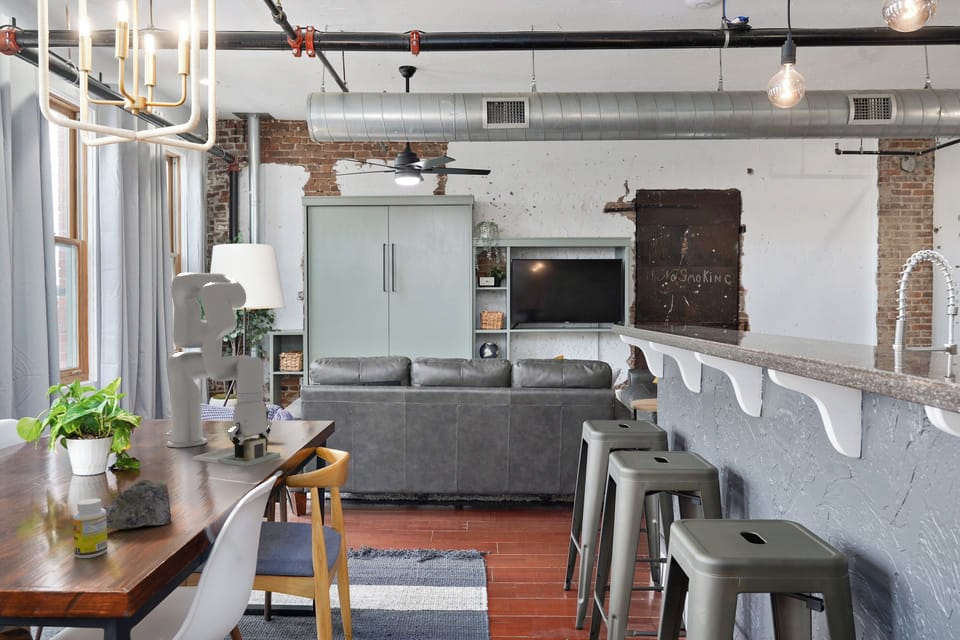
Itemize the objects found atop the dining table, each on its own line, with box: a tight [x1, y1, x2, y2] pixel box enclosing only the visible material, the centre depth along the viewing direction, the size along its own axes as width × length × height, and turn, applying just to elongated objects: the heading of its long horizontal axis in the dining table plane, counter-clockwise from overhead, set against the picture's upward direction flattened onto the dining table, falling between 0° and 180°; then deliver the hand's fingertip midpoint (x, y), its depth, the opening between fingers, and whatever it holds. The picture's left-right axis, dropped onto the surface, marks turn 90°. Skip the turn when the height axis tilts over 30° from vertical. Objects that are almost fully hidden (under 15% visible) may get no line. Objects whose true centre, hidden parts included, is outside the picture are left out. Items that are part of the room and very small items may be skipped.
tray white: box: [193, 446, 235, 464], centre depth 211 cm, size 10×14×2 cm
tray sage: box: [221, 450, 281, 467], centre depth 206 cm, size 10×14×2 cm
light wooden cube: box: [237, 437, 266, 462], centre depth 206 cm, size 6×6×6 cm
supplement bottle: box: [72, 498, 108, 559], centre depth 130 cm, size 6×6×10 cm
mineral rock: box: [102, 479, 172, 530], centre depth 146 cm, size 13×11×10 cm
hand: (251, 454), depth 206 cm, fingers open, 9 cm apart
